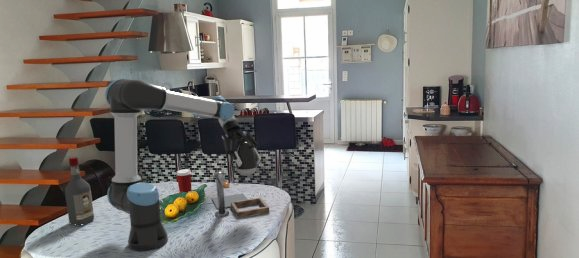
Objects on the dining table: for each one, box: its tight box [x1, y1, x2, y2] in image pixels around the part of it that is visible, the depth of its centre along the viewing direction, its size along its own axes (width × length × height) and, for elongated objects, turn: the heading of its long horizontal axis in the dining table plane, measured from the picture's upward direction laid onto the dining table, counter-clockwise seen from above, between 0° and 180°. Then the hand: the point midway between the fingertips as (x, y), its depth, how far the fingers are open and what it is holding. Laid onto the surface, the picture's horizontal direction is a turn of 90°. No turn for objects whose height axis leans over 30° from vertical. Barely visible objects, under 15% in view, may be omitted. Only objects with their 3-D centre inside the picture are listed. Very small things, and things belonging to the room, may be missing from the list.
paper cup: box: [175, 168, 192, 194], centre depth 236 cm, size 8×8×14 cm
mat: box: [211, 192, 248, 211], centre depth 227 cm, size 16×16×1 cm
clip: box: [213, 170, 230, 189], centre depth 200 cm, size 21×4×2 cm, turn 18°
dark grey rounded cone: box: [234, 142, 258, 176], centre depth 210 cm, size 10×10×15 cm
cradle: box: [230, 197, 270, 219], centre depth 215 cm, size 15×15×2 cm
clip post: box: [214, 177, 230, 218], centre depth 209 cm, size 6×6×18 cm
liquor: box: [64, 156, 95, 226], centre depth 208 cm, size 9×9×30 cm
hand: (250, 162), depth 208 cm, fingers closed on dark grey rounded cone, 9 cm apart
